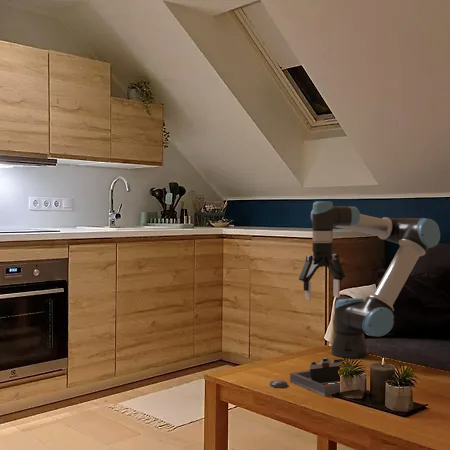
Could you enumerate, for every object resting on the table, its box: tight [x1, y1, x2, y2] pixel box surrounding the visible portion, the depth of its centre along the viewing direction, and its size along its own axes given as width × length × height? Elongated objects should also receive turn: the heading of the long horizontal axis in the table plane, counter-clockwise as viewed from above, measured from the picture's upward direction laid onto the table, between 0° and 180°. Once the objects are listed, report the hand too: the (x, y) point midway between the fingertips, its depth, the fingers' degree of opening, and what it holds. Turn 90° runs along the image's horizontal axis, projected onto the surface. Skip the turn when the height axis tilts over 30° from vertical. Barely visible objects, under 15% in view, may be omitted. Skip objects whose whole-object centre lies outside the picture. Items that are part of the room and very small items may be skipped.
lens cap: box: [269, 379, 288, 389], centre depth 209 cm, size 6×6×2 cm
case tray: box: [289, 369, 340, 397], centre depth 209 cm, size 14×19×3 cm
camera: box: [309, 357, 347, 384], centre depth 208 cm, size 13×8×9 cm, turn 82°
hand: (322, 298), depth 231 cm, fingers open, 13 cm apart
